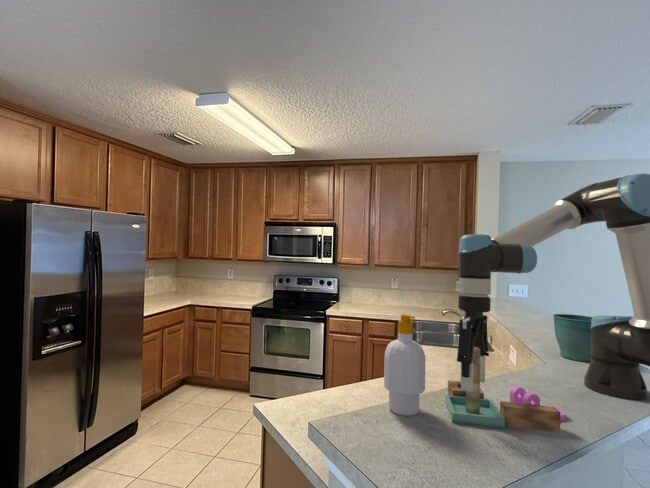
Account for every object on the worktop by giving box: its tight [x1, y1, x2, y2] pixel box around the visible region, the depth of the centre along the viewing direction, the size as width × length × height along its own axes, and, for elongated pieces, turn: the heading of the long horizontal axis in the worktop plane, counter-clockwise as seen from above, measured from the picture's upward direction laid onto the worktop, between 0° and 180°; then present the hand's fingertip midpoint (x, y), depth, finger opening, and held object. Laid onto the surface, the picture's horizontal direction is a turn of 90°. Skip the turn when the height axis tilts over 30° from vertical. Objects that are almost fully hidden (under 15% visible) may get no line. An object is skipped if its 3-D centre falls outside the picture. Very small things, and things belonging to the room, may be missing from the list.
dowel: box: [466, 347, 481, 415], centre depth 88 cm, size 3×3×16 cm
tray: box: [444, 394, 506, 429], centre depth 88 cm, size 12×12×2 cm
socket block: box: [447, 380, 485, 399], centre depth 98 cm, size 8×8×4 cm
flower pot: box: [552, 313, 594, 363], centre depth 146 cm, size 18×18×17 cm
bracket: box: [509, 385, 567, 421], centre depth 89 cm, size 13×6×7 cm, turn 103°
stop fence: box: [499, 401, 561, 433], centre depth 83 cm, size 12×3×4 cm, turn 79°
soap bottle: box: [383, 313, 427, 417], centre depth 90 cm, size 10×10×24 cm
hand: (473, 385), depth 88 cm, fingers open, 8 cm apart
